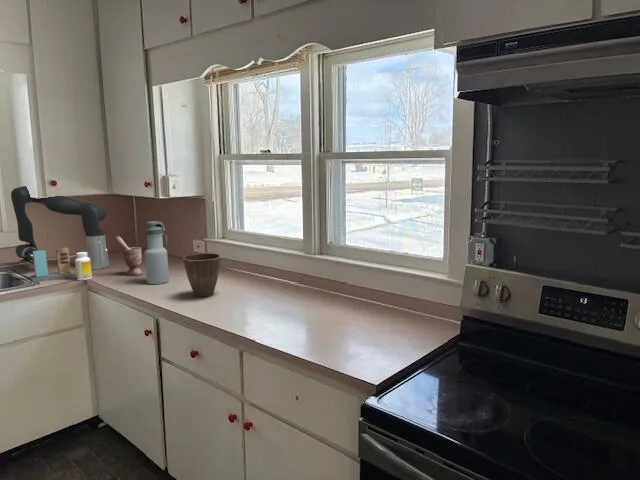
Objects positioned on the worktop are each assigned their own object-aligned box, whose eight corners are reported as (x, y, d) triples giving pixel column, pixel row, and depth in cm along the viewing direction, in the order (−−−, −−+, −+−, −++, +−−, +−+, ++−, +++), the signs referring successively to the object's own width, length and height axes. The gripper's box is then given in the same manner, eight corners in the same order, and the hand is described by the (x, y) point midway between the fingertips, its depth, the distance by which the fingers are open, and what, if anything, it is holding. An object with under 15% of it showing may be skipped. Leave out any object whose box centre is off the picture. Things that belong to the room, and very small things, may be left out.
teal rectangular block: (47, 274, 249) (44, 250, 248) (48, 275, 246) (45, 251, 244) (35, 275, 246) (32, 251, 245) (36, 277, 243) (33, 252, 241)
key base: (72, 272, 259) (72, 270, 259) (77, 276, 251) (76, 273, 251) (30, 278, 248) (29, 275, 248) (33, 282, 240) (32, 279, 240)
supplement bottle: (94, 277, 248) (92, 251, 246) (87, 280, 241) (84, 253, 239) (81, 277, 248) (79, 251, 246) (73, 280, 242) (71, 254, 240)
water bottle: (156, 279, 241) (152, 220, 237) (174, 280, 238) (169, 220, 233) (142, 284, 232) (137, 222, 227) (160, 285, 228) (155, 223, 224)
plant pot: (229, 294, 211) (227, 256, 208) (197, 301, 201) (194, 261, 198) (210, 288, 221) (208, 251, 219) (178, 295, 211) (176, 257, 209)
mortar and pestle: (125, 278, 244) (122, 237, 241) (115, 276, 249) (112, 235, 246) (147, 273, 253) (143, 233, 250) (137, 271, 258) (133, 232, 255)
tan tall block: (69, 271, 255) (66, 247, 253) (71, 272, 252) (68, 248, 250) (58, 272, 252) (55, 248, 250) (59, 274, 249) (57, 249, 247)
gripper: (15, 249, 265) (20, 254, 251) (44, 246, 273) (50, 250, 259) (17, 263, 266) (21, 268, 253) (45, 260, 274) (51, 265, 260)
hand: (36, 259), depth 256 cm, fingers closed
